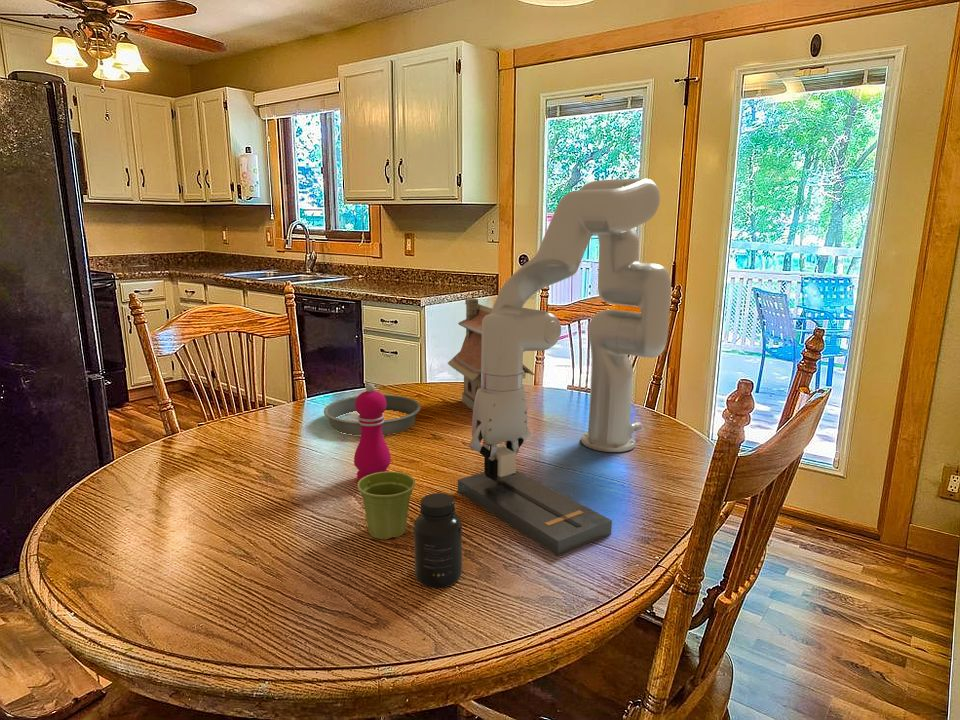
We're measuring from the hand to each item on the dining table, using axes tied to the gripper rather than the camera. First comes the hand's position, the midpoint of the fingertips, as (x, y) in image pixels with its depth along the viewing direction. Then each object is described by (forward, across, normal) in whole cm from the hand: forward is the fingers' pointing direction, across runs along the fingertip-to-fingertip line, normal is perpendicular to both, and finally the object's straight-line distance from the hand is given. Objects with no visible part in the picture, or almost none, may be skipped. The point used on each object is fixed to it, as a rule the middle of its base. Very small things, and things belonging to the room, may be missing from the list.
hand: (499, 474), depth 113 cm
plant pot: (+4, +24, +1) cm, 24 cm away
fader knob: (+1, 0, 0) cm, 1 cm away
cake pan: (+5, +1, -52) cm, 53 cm away
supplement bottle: (+4, +24, +17) cm, 29 cm away
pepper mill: (+4, +17, -19) cm, 26 cm away
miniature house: (+4, -31, -44) cm, 54 cm away
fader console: (+4, 0, +9) cm, 10 cm away
